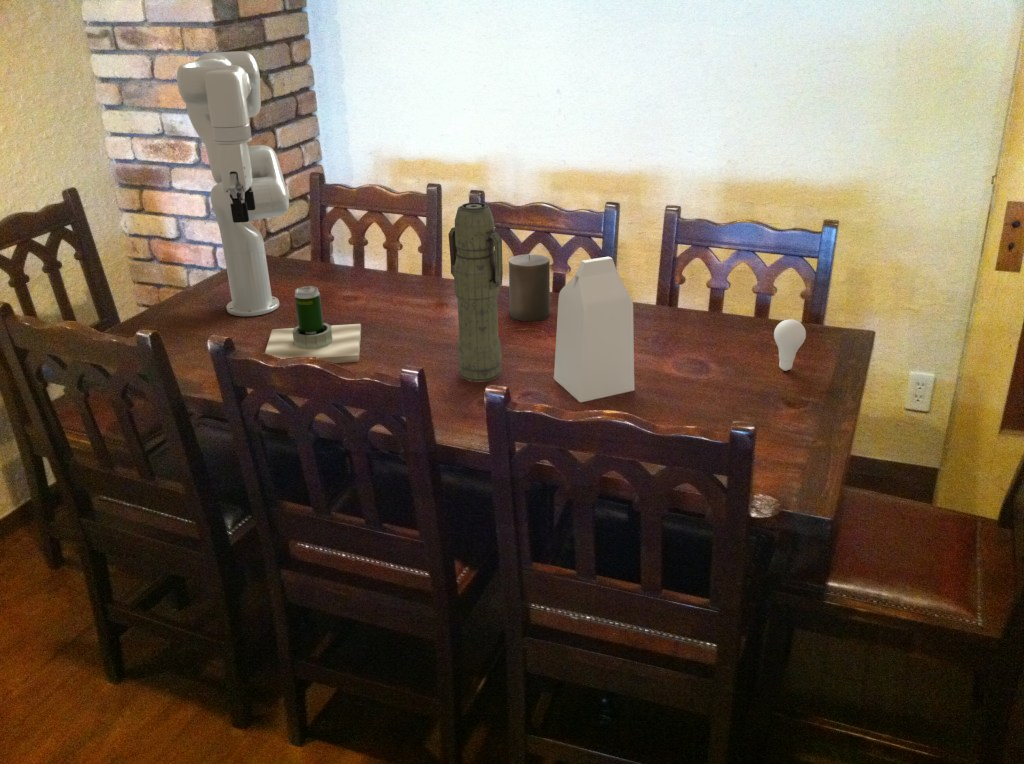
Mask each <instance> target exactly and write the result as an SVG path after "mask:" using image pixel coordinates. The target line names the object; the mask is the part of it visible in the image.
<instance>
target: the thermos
mask: <svg viewBox="0 0 1024 764" xmlns="http://www.w3.org/2000/svg"><path fill="white" fill-rule="evenodd" d="M456 210H457V211H456V214H455V217H454V222H453V223H454V227H451V228H450V230H449V232H448V244H449V247H448V249H449V256H450V257H449V258H450V260H449V261H450V274H451V275H452V277H453V285H454V295H455V298H457V318H458V337H459V338H458V340H457V343H456V351H457V365H458V366H459V367H458V369H459V370H458V374H459V377H460V376H461V377H462V378H463V379H462V378H461V377H460V378H461V379H462V380H464V379H466V380H471V381H484V382H483V383H486V382H485V381H487V382H491V381H490V380H492V381H494V380H495V379H494V378H496V377H498V376H499V375H500V376H501V374H500V373H502V370H501V364H502V343H501V340H500V338H499V323H498V322H499V320H498V317H499V316H498V314H499V313H498V296H499V293H500V287H501V286H502V285H503V274H504V273H503V239H502V238H501V236H500V234H499V232H496V229H495V219H494V215H493V213H492V211H491V208H490V205H487V204H485V203H482V202H467V203H464V204H462V205H460V206H459V207H458V208H457V209H456ZM500 376H499V377H500ZM499 377H498V378H499ZM493 379H494V380H493ZM496 379H497V378H496ZM466 380H465V381H466Z"/></svg>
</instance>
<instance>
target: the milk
mask: <svg viewBox="0 0 1024 764" xmlns="http://www.w3.org/2000/svg"><path fill="white" fill-rule="evenodd" d="M557 299H558V302H557V315H556V316H557V319H556V320H557V321H556V335H555V351H554V352H555V355H554V371H553V372H554V373H553V380H554V381H556V383H558V384H559V385H560V386H561V387H562V388H563V389H565V391H567V392H568V393H569V394H570V395H571V396H572V397H573V398H574V399H576V400H577V401H578V402H579V403H584V402H588V401H593V400H598V399H602V398H605V397H611V396H615V395H619V394H624V393H628V392H634V391H635V344H634V342H635V341H634V339H635V338H634V333H635V331H634V303H633V299H632V297H631V295H630V292H629V290H628V288H627V287H626V285H625V283H624V282H623V280H622V278H621V276H620V274H619V273H618V271H617V267H616V265H615V262H614V259H613V258H612V257H611V256H604V257H596V258H590V259H583V260H581V261H580V263H579V265H578V267H577V270H576V272H575V274H574V276H573V277H572V278H571V279H570V280H569V281H568V282H567V283H566V284H565V285H564V286H563V287H562V288H561V289H560V291H559V294H558V298H557Z"/></svg>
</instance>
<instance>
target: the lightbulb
mask: <svg viewBox="0 0 1024 764" xmlns="http://www.w3.org/2000/svg"><path fill="white" fill-rule="evenodd" d="M773 331H774V332H773V338H774V341H775V343H776V345H777V348H778V359H779V365H778V367H779V368H780V369H782V371H784V372H787V371H788V370H791V369H793V364H794V360H795V359H796V355H797V352H798V350H799V349H800V348H801V346H802V345H803V344H804V343H805V340H806V339H807V338H806V337H807V331H806V328H805V327H804V325H803V324H802V322H800V321H798V320H796V319H793V318H791V319H790V318H789V319H785V320H782V321H780V322H779V323H778V324H777V325H776V326H775V328H774V330H773Z"/></svg>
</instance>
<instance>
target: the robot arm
mask: <svg viewBox="0 0 1024 764" xmlns="http://www.w3.org/2000/svg"><path fill="white" fill-rule="evenodd" d="M260 76H261V74H260V70H259V66H258V63H257V60H256V59H255V57H254V55H252V54H251V53H250V52H248V51H243V50H239V51H222V52H221V51H218V52H207V53H204V54H201V55H200V56H198V58H197V59H196V60H195V61H192V62H188V63H183V64H181V65H180V66H178V68H177V72H176V82H177V87H178V88H177V89H178V92H179V95H180V98H181V99H182V101H183V102H184V103H185V105H186V106H185V107H186V110H187V114H188V117H189V120H190V123H191V125H192V128H193V129H194V131H195V132H196V134H197V135H198V137H199V138H200V140H201V141H202V143H203V144H204V146H205V149H206V153H207V159H208V162H209V168H210V172H211V176H212V178H213V180H214V182H215V184H214V186H213V187H212V188H211V189H210V193H209V195H210V202H211V206H212V210H213V213H214V216H215V218H216V222H217V225H218V230H219V233H220V238H221V243H222V244H221V245H222V250H223V254H224V261H225V266H226V272H227V273H226V274H227V277H228V284H229V291H230V296H231V301H229V302H228V303H227V305H226V311H227V313H229V314H230V315H233V316H238V317H254V316H255V317H256V316H257V317H258V316H261V315H266V314H269V313H271V312H273V311H275V310H277V309H278V308H279V307H280V301H279V298H278V297H276V296H273V295H272V289H271V282H270V275H269V270H268V269H269V267H268V261H267V254H266V249H265V248H266V247H265V242H264V238H263V235H262V234H261V233H262V232H260V230H259V229H258V228H256V227H255V226H254V225H253V224H252V223H250V221H255V220H261V219H263V220H264V219H270V218H278V217H283V216H284V215H285V214H287V212H288V211H289V207H290V198H289V193H288V189H287V185H286V183H285V179H284V176H283V175H284V174H283V172H282V168H281V165H280V161H279V159H278V158H279V157H278V155H277V154H276V152H275V150H274V149H273V148H272V147H270V146H269V145H264V144H260V145H259V144H257V145H248V142H251V141H252V140H253V139H252V138H253V137H252V132H251V126H250V125H251V124H250V118H253V117H257V115H259V114H260V112H261V111H260V110H261V105H262V102H261V99H262V98H261V77H260Z"/></svg>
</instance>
